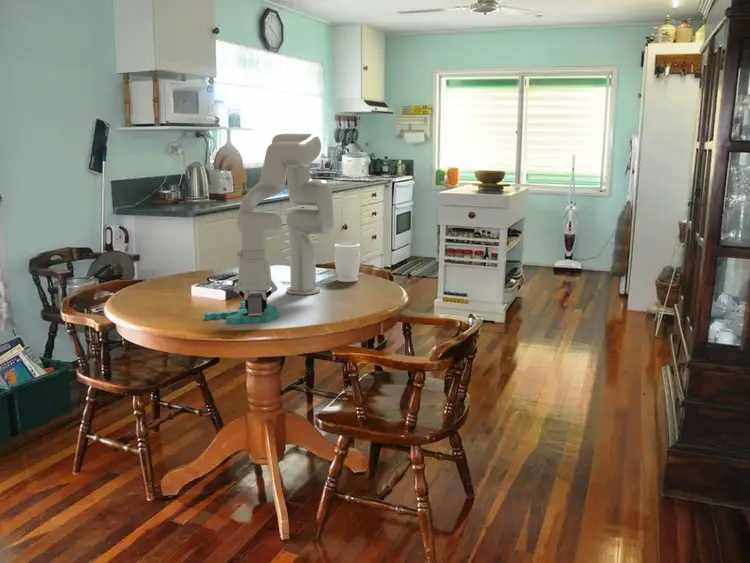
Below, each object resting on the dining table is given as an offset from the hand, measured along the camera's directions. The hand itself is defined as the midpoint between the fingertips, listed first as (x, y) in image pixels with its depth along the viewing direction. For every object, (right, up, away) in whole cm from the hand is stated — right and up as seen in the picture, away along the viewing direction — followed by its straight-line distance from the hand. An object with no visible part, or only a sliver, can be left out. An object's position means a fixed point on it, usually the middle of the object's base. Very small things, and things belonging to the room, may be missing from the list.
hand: (256, 310), depth 219 cm
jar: (+27, +10, +61) cm, 67 cm away
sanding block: (0, -1, 0) cm, 1 cm away
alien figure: (-3, -3, +6) cm, 7 cm away
